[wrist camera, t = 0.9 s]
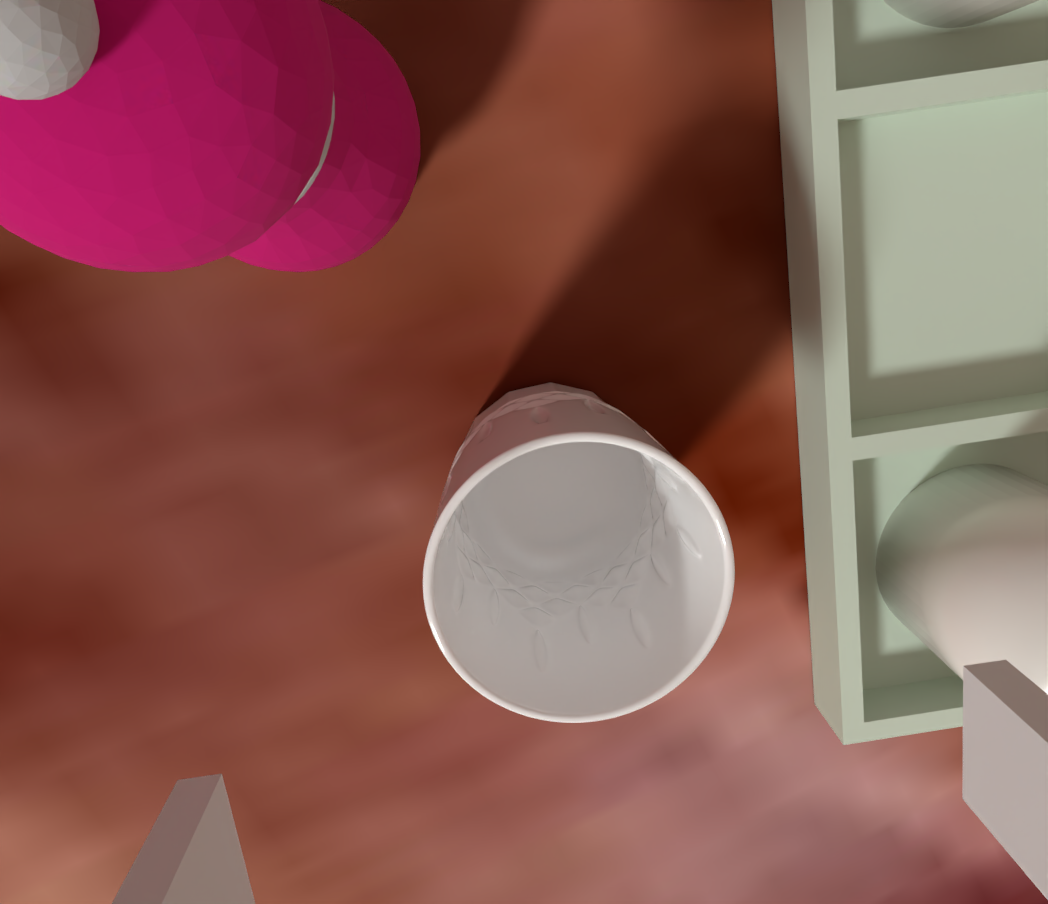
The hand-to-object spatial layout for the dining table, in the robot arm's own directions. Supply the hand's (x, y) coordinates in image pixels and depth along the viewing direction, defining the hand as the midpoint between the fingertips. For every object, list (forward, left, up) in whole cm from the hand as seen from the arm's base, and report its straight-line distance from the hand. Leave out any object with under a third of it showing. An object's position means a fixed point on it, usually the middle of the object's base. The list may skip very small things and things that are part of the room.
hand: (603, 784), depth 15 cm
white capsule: (+5, +16, -16) cm, 23 cm away
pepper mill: (-13, -5, -17) cm, 22 cm away
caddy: (-6, +16, -17) cm, 24 cm away
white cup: (-1, +1, -17) cm, 17 cm away
